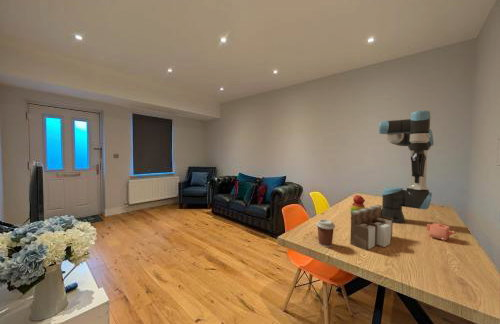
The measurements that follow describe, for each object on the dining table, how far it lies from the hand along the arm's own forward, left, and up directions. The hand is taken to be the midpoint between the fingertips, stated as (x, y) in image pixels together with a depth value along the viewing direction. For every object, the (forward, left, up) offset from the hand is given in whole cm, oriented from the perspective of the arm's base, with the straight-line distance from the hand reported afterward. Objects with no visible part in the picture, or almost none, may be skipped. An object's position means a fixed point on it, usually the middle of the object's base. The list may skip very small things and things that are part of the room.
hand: (417, 189), depth 102 cm
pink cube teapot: (-24, +4, -30) cm, 38 cm away
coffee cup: (+37, -26, -30) cm, 54 cm away
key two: (+12, -11, -29) cm, 33 cm away
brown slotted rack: (+12, -15, -29) cm, 35 cm away
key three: (+21, -14, -29) cm, 38 cm away
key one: (+3, -14, -29) cm, 32 cm away
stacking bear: (-16, -38, -30) cm, 51 cm away
